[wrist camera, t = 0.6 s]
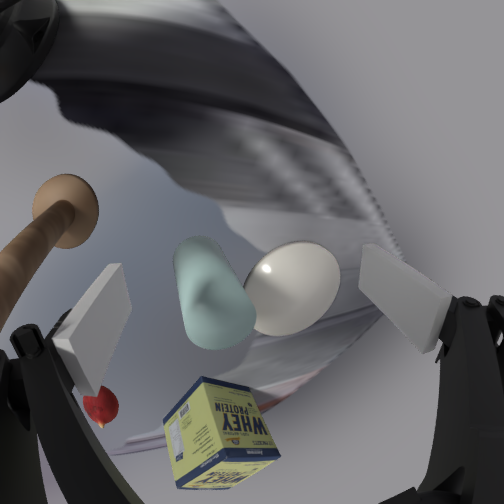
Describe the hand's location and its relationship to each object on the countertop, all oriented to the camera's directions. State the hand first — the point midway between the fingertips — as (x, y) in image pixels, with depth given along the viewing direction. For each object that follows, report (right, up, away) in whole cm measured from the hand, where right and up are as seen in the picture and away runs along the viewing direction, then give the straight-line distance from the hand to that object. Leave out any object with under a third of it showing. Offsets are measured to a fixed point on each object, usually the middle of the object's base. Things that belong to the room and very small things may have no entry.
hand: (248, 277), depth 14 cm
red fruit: (-24, -20, +21) cm, 38 cm away
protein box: (-9, -27, +30) cm, 41 cm away
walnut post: (-20, +6, +10) cm, 23 cm away
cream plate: (+6, -4, +25) cm, 26 cm away
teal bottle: (-6, 0, +18) cm, 19 cm away
